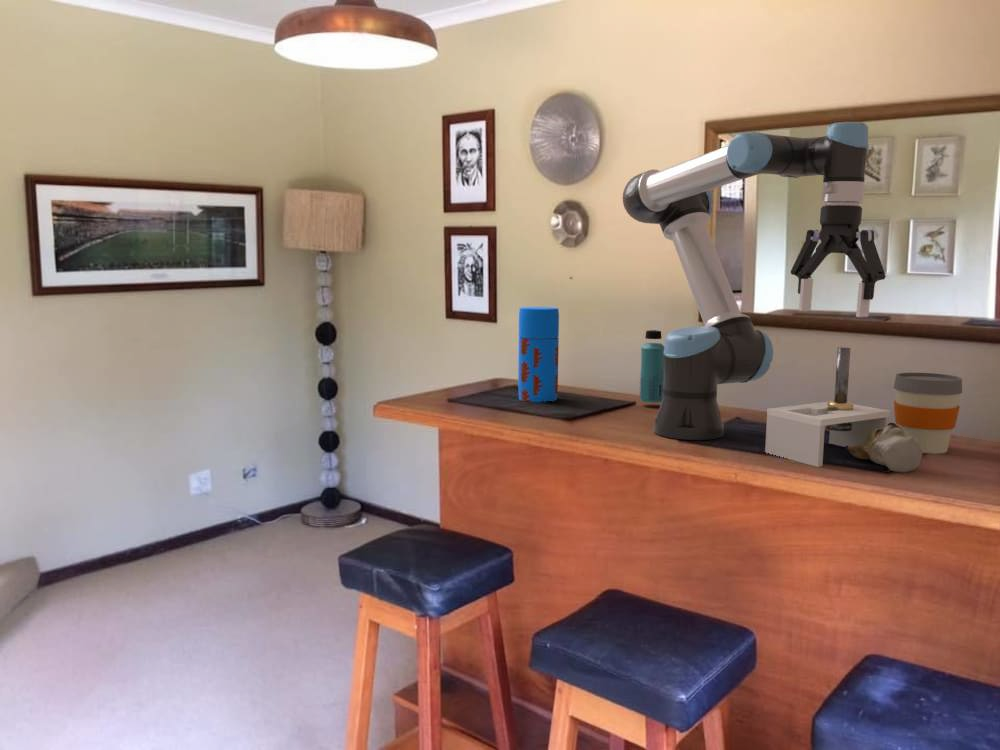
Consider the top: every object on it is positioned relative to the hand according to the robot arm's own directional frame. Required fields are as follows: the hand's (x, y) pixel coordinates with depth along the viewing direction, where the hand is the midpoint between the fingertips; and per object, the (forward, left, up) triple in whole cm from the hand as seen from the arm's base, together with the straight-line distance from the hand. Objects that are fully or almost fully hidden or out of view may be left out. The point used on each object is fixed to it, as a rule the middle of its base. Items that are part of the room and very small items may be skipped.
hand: (832, 313), depth 166 cm
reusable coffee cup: (+8, +20, -28) cm, 35 cm away
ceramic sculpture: (+14, 0, -28) cm, 32 cm away
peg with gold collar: (+2, +1, -23) cm, 23 cm away
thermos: (-80, -19, -28) cm, 86 cm away
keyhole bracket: (+2, -2, -28) cm, 28 cm away
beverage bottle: (-57, +2, -28) cm, 63 cm away
